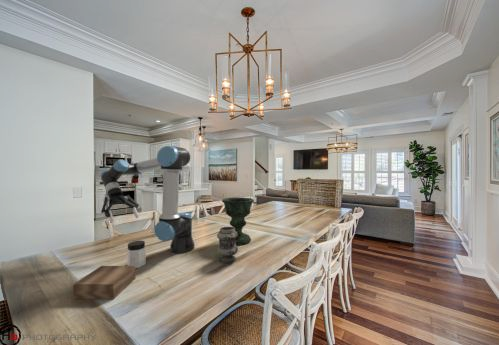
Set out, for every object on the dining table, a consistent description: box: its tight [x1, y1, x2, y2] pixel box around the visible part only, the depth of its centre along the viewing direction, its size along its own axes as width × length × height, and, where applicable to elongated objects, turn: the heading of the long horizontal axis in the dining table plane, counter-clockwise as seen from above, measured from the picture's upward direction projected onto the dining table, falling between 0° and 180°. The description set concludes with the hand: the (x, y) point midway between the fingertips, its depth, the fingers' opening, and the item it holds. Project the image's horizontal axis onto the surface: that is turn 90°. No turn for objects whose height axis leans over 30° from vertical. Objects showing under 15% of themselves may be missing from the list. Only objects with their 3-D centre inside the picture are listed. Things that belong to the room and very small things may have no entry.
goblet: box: [221, 196, 255, 246], centre depth 153 cm, size 22×23×30 cm
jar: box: [126, 240, 147, 269], centre depth 115 cm, size 9×8×12 cm
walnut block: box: [72, 265, 136, 300], centre depth 93 cm, size 16×16×6 cm
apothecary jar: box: [216, 225, 239, 264], centre depth 122 cm, size 12×12×18 cm
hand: (125, 219), depth 124 cm, fingers open, 13 cm apart
